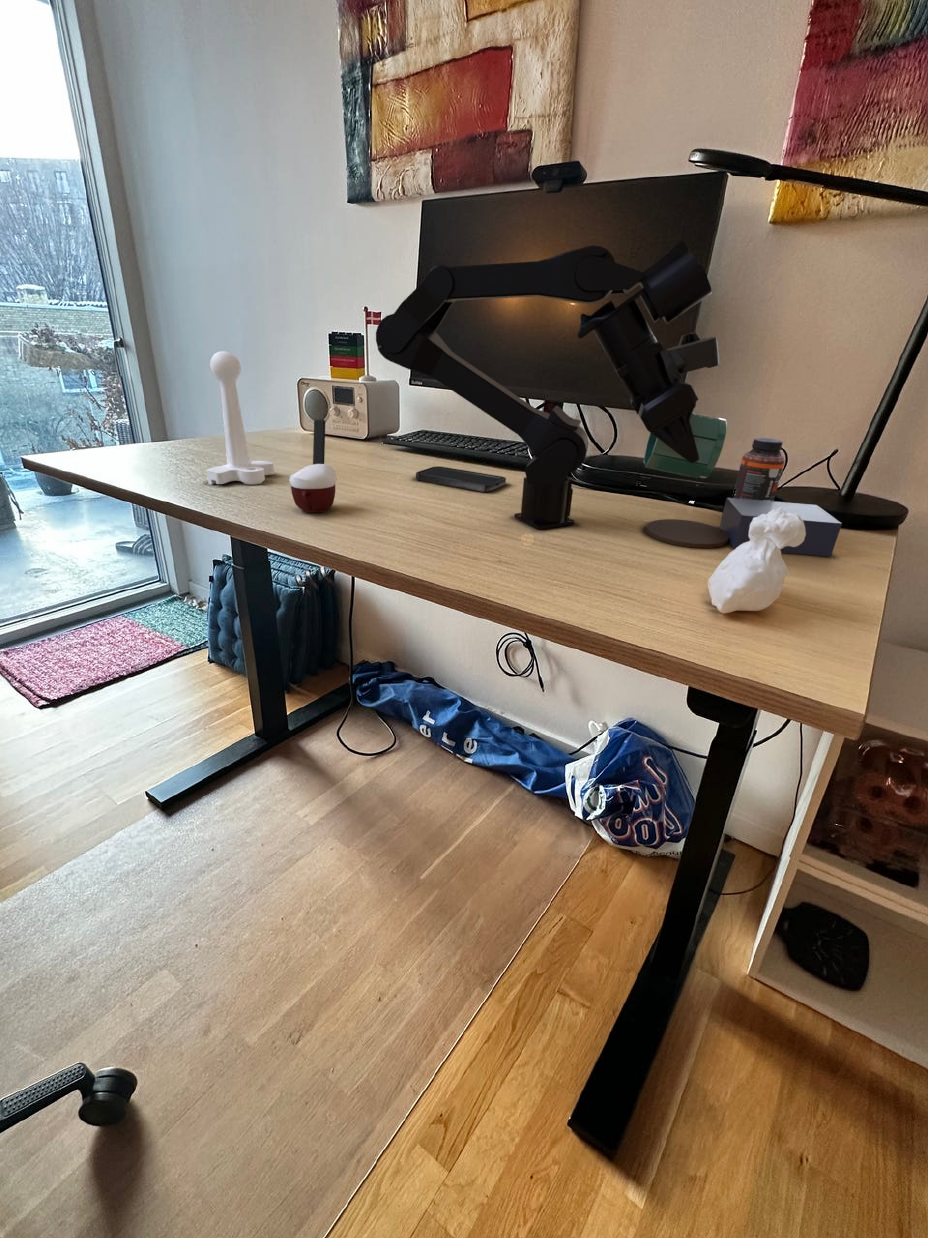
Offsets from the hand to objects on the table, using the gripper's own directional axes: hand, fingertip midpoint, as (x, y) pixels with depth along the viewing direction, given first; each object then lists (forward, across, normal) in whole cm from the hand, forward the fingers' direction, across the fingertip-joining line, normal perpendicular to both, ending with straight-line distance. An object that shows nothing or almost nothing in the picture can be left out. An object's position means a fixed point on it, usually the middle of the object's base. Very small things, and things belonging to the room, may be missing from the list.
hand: (690, 455), depth 76 cm
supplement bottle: (+17, +15, -4) cm, 23 cm away
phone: (-12, +20, +34) cm, 41 cm away
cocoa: (-23, -4, +47) cm, 53 cm away
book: (+16, 0, -4) cm, 17 cm away
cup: (+1, 0, +3) cm, 3 cm away
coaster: (+10, 0, +5) cm, 11 cm away
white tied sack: (+11, -23, +4) cm, 26 cm away
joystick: (-34, +8, +62) cm, 71 cm away
